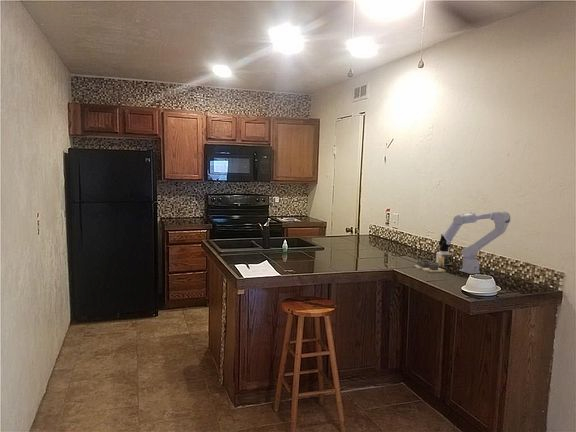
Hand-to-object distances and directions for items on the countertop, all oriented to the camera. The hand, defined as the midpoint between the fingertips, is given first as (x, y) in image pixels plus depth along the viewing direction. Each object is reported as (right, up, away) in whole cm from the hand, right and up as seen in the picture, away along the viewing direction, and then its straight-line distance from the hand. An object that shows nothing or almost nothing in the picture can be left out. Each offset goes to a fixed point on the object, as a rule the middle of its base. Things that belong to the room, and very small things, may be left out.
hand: (440, 248), depth 286 cm
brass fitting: (-1, -12, -3) cm, 13 cm away
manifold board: (-10, -13, -8) cm, 18 cm away
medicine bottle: (+5, -11, +9) cm, 15 cm away
